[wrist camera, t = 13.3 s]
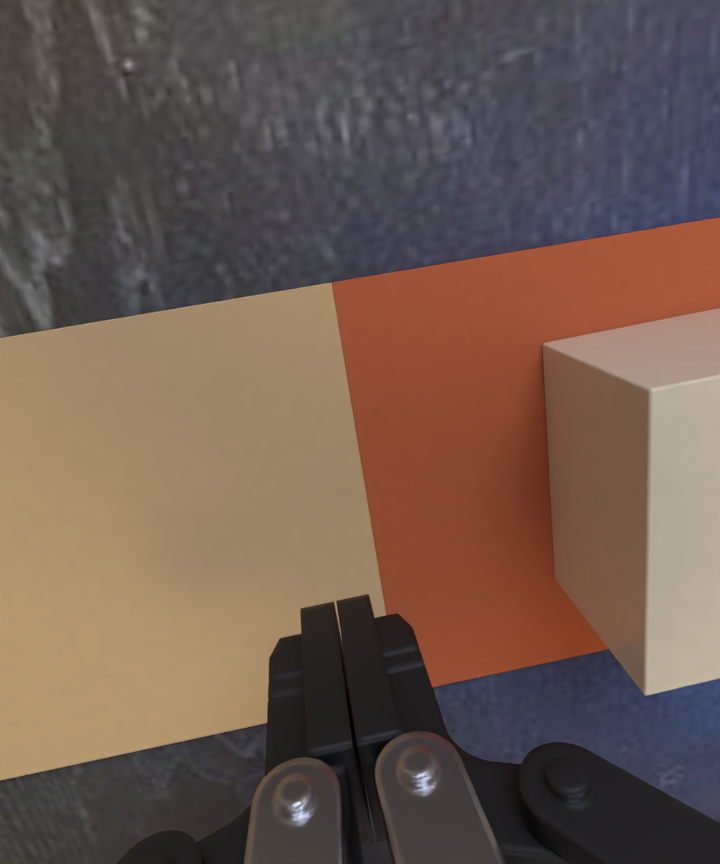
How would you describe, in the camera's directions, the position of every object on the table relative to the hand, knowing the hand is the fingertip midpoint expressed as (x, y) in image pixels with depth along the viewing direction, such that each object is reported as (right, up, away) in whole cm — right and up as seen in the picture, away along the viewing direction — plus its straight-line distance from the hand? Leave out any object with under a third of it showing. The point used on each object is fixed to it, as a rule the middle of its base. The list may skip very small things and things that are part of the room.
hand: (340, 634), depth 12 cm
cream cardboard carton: (+9, +4, +5) cm, 11 cm away
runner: (-3, +1, +5) cm, 6 cm away
